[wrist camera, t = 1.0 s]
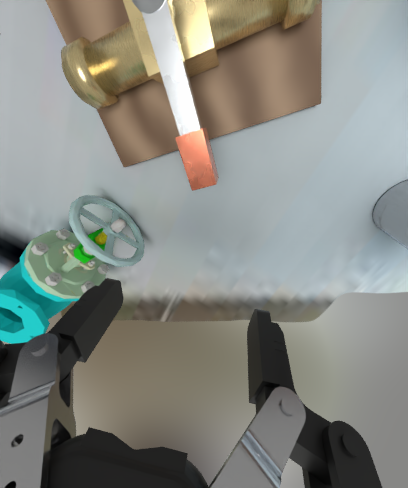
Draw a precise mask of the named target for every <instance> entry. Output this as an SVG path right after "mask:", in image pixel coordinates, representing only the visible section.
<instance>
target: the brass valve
mask: <svg viewBox="0 0 408 488" xmlns="http://www.w3.org/2000/svg"><path fill="white" fill-rule="evenodd" d="M123 2H124V5H125V8H126V11H127V14H128V17H129V20H130V21H129V22H127V23H126V24H124V25H122V26H120V27H118V28H117V29H115V30H113V31H111V32H109V33H107V34H106V35H104V36H102V37H100V38H98V39H97V40H95V41H93V42H90V41H89V40H88V39H86V38H84V37H80V38H79V39H77V40H75V41H73V42H72V43H70V44H68V45H66V46H65V47H63V48H62V51H61V58H62V68H63V72H64V74H65V77H66V79H67V81H68V83H69V84H70V86H71V87H72V89H73V90H74V92H75V93H76V94H77V95H78V96H79V97H80V98H81V99H82V100H83V101H84V102H85V103H87V104H89V105H91V106H93V107H94V108H97V109H102V108H104V107H107V106H109V105H111V104H113V103H116V102H117V101H118V98H119V93H121V92H124V91H126V90H128V89H130V88H133V87H135V86H137V85H139V84H142V83H144V82H146V81H148V80H151V79H154V80H156V81H158V82H160V83H162V84H164V82H163V79H162V76H161V73H160V70H159V66H158V63H157V60H156V57H155V53H154V50H153V47H152V44H151V41H150V37H149V34H148V31H147V28H146V24H145V21H144V18H143V15H142V13H141V12H140V10H139V9H138V8H137V7H136V6H135V5H134V3H133V2H132V0H123ZM320 2H321V0H172V5H171V9H172V13H173V17H174V21H175V25H176V29H177V33H178V37H179V41H180V45H181V48H182V52H183V56H184V60H185V64H186V68H187V72H188V76H189V78H190V77H192V76H195V75H197V74H200V73H202V72H204V71H207V70H209V69H211V68H214V67H216V66H218V65H219V60H218V54H217V50H218V49H220V48H222V47H225V46H227V45H229V44H231V43H234V42H236V41H238V40H240V39H243V38H245V37H247V36H249V35H252V34H254V33H256V32H258V31H261V30H263V29H265V28H267V27H270V26H272V25H274V24H276V23H279V22H280V24H281V27H282V29H283V30H284V29H287V28H289V27H291V26H293V25H296V24H298V23H300V22H303V21H305V20H307V19H309V18H310V17H311V16H312V14H313V12H314V9H315V6H317V5H318V4H319V3H320Z"/></svg>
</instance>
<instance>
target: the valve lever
mask: <svg viewBox="0 0 408 488" xmlns="http://www.w3.org/2000/svg"><path fill="white" fill-rule="evenodd" d="M132 2H133V3H134V5H135V6H136V7H137V8H138V9H139V10H140V12H141V13H142V15H143V18H144V21H145V24H146V28H147V31H148V34H149V37H150V41H151V44H152V47H153V50H154V53H155V57H156V60H157V63H158V66H159V70H160V73H161V76H162V79H163V82H164V86H165V89H166V92H167V95H168V99H169V102H170V105H171V108H172V111H173V115H174V118H175V121H176V124H177V128H178V131H179V134H180V136H179V137H176V138H175V139H176V142H177V145H178V148H179V152H180V155H181V158H182V161H183V164H184V167H185V170H186V173H187V176H188V179H189V183H190V186H191V189H192V190H196V189H200V188H204V187H208V186H212V185H216V184H217V181H218V174H217V170H216V166H215V161H214V157H213V153H212V149H211V145H210V141H209V137H208V133H207V129H206V128H202V126H201V123H200V119H199V115H198V111H197V107H196V103H195V99H194V95H193V91H192V87H191V84H190V80H189V76H188V72H187V68H186V64H185V60H184V56H183V52H182V48H181V45H180V41H179V37H178V33H177V29H176V25H175V21H174V17H173V13H172V9H171V5H172V0H132Z"/></svg>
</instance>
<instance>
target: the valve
mask: <svg viewBox="0 0 408 488" xmlns="http://www.w3.org/2000/svg"><path fill="white" fill-rule="evenodd" d="M90 203H93V204H99V205H103V206H105V207H108V208H110V209H111V210H113V215H112V219H111V222H109V223H108V224H107V223H105V222H104V221H102V220H101V219H99V218H98V217H96V216H95V215H93V214H92V213H90V212H89V211H87V210H85V209H84V208H82V207H83V206H84V205H86V204H90ZM80 214H81V215H83V216H84V217H86V218H88V219H89V220H91V221H93V222H94V223H96V224H98V225H99V226H101V227H103V228H104V229H103V228H101V229H99V230H97V231H95V232H93V233H91V234H89V235H88V236H87V234H86V232H85V230H84V228H83V225H82V223H81V220H80ZM119 216H120V217H121V218H122V219H118V218H119ZM125 221H126V222H127V224H128V225H129V227H130V228H131V230H132V232H133V234H134V236H135V239H136V241H134V240H132V239H131V238H129V237H128V236H126V235H124V234H123V233H121V231H122V229H123V228H124V227H125V226H126V223H125ZM69 224H70V226H71V228H72V230H73V232H74V233H72V232H69V231H68V230H66V229H61V230H59V231H54V230H51V231H49V232H47V233H45V234H42V235H40V236H38V237H36V238H34V239H33V240H32V241H31V242H30V243H29V244H28V246H27V247H26V249H25V251H24V252H23V254H22V255H21V257H20V262H19V263H18V264H17V265H15V266H14V267H13V268H12V269H11V270H9V271H8V272H7V273H6V274H4V275H3V277H2V278H1V280H0V340H1V341H4V342H7V343H11V344H14V343H24V342H28V341H29V340H31V339H32V338H34V337H36V336H38V335H41V334H45V332H46V330H47V328H48V326H49V324H50V323H49V321H48V319H49V318H51V317H52V316H54V315H56V314H57V313H58V312H60V311H61V310H63V309H64V308H66V307H67V306H68V305H69V304H70V303H71V302H72V301H77V300H79V298H80V297H81V296H82V295H83V294H84V293H85V292H86V291H87V290H89V289H90V288H92V287H93V286H95V285H96V286H99V285H100V284H101V283H102V282H103V281H104V280H105V275H106V273H107V272H108V271H109V268H108V265H106V264H105V262H106V263H109V264H112V265H114V266H117V267H122V266H133V265H134V264H136V263H137V262H139V261H140V260H141V258H142V257H143V253H144V240H143V238H142V235H141V233H140V230H139V228H138V227H137V225H136V224H135V223H134V221H133V220H132V219H131V217H130V216H129V215H128V214H127V213H126V212H125V211H123V210H122V209H121V208H120V207H118V206H117V205H116V204H114V203H113V202H111V201H108V200H106V199H103V198H101V197H98V196H87V195H86V196H82V197H79V198H78V199H76V200H75V201H74V202H72V204H71V207H70V211H69ZM116 237H118V238H120V239H122V240H123V241H125V242H127V243H129V244H130V245H132V246H133V247H135V248H137V250H136V252H135V254H134V256H133V257H131V258H127V259H121V258H117V257H115V256H113V255H112V251H113V245H114V239H115V238H116Z"/></svg>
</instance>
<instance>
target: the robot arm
mask: <svg viewBox="0 0 408 488" xmlns="http://www.w3.org/2000/svg"><path fill="white" fill-rule="evenodd" d="M373 219H374V222H375V224H376V225H377V226H378V227H379V228H380V229H382V230H383V231H384V232H386V233H387V234H388V235H390V236H391V237H392V238H393V239H395V240H396V241H397V242H399V243H400V244H401V245H403V246H404V247H405V248H407V249H408V180H407V181H404V182H401V183H399V184H397V185H396V186H394V187H392V188H391V189H390V190H388V191H387V192H386V193H385V194H384V195H383V196H382V197H381V198H380V199H379V201H378V202H377V204H376V206H375V208H374V212H373ZM122 303H123V293H122V287H121V282H120V281H118V280H114V279H109V278H106V279H105V280H104V281H103V282H102V283H101V284H100V285H99V286H96V285H95V286H93V287H92V288H90V289H89V290H87V291H86V292H85V293H84V294H83V295H82V296H81V297H80V298H79V300H77V302H76V303H75V304H74V306H72V307H71V308H70V309H69V310H68V311H67V313H66V314H65V315H64V316H63V317H62V318H61V319H60V320H59V321H58V322H57V323H56V325H55V326H54V327H53V328H52V329H51V330H50V331H49V332H48V333H45V334H41V335H38V336H36V337H34V338H32V339H31V340H29V341H28V342H24V343H14V344H5V345H4V344H3V343H2V341H1V340H0V488H279V487H280V484H281V474H282V472H283V469H284V467H285V465H286V463H287V461H288V458H290V459H292V460H293V461H294V462H296V463H297V464H299V465H300V466H301V467H302V470H303V477H304V485H305V488H382V486H381V483H380V480H379V477H378V474H377V471H376V469H375V465H374V463H373V460H372V457H371V454H370V451H369V449H368V447H367V445H366V443H365V441H364V440H363V438H362V437H361V435H360V434H359V433H358V432H357V431H356V430H355V429H354V428H353V427H351V426H350V425H349V424H347V423H345V422H342V421H334V422H332V423H331V422H329V421H327V420H326V419H324V418H322V417H321V416H319V415H317V414H316V413H314V412H313V411H311V410H310V409H308V408H307V407H306V406H305V405H304V404H303V403H302V401H301V400H300V399H299V397H298V395H297V393H296V391H295V389H294V385H293V380H292V375H291V370H290V365H289V359H288V355H287V349H286V345H285V340H284V334H283V332H282V330H281V328H280V327H279V325H278V324H277V323H273V322H271V318H270V313H269V312H268V311H264V310H259V309H255V310H254V312H253V315H252V318H251V320H250V323H249V326H248V331H247V345H248V380H249V403H253V404H256V415H255V417H254V418H253V420H252V421H251V423H250V424H249V426H248V428H247V429H246V431H245V432H244V434H243V435H242V437H241V438H240V440H239V441H238V443H237V444H236V446H235V448H234V449H233V451H232V452H231V453H230V455H229V457H228V458H227V459H226V461H225V462H224V464H223V466H222V467H221V468H220V470H219V472H218V473H217V475H216V476H215V478H214V479H213V481H212V482H211V484H210V486H209V487H208V485H207V483H206V481H205V479H204V477H203V476H202V474H201V473H200V472H199V471H198V469H197V468H196V467H195V466H194V465H193V464H192V463H191V462H190V461H188V460H187V453H184V452H180V451H176V450H173V449H169V448H165V447H158V448H148V449H139V450H134V449H132V448H131V447H129V446H128V445H127V444H125V443H124V442H123V441H121V440H120V439H119V438H118V437H116V436H115V435H113V434H112V433H108V432H104V431H101V430H97V429H93V428H88V431H87V432H86V434H83V435H79V436H76V422H75V417H74V412H73V367H74V365H75V364H76V362H77V361H81V362H86V361H87V359H88V358H89V356H90V354H91V353H92V351H93V350H94V348H95V347H96V345H97V344H98V342H99V341H100V339H101V337H102V336H103V334H104V333H105V331H106V330H107V328H108V327H109V325H110V323H111V322H112V320H113V319H114V317H115V316H116V314H117V313H118V311H119V310H120V308H121V306H122Z"/></svg>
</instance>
